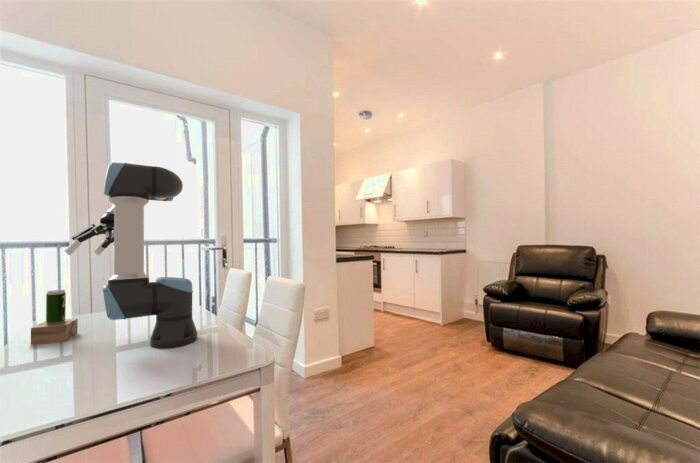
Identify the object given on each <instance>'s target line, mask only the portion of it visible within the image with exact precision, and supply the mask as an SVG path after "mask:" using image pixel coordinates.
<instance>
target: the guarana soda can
mask: <svg viewBox="0 0 700 463" xmlns="http://www.w3.org/2000/svg"><path fill="white" fill-rule="evenodd" d="M66 297H67V296H66V289H55V290H48V291H46V295H45V300H46V301H45V302H46V303H45V321H46V323H47V324H48V325H53V324H60V323H63V322H64V321H65V319H66V304H67V301H66Z"/></svg>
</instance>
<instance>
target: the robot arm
mask: <svg viewBox="0 0 700 463" xmlns="http://www.w3.org/2000/svg"><path fill="white" fill-rule="evenodd" d="M182 190H183V181H182V179H181V178H180V176H179V175H178V174H176V173H175V172H173V171H171V170H170V169H168V168H164V167H162V166H157V165H156V166H151V165H145V164H144V165H143V164H135V163H128V162H111V163H110V164H109V165H108V166H107V170H106V174H105V181H104V188H103V194H104V195H105V196H107V197H108V201H109V202H110V203H111V204H113V205H112V206H111V208H109V209H108V210H107V211H106V213H105V214H103V216H102V217H101V218H100V219H99V223H97V225H96V224H95V223H91V224H90V225H89V226H88V227H86V228H84V229H83V230H82V231H80V232H78V233H76V234H74V236H72V237H71V239H72V240H73V241H72V242H71V243H70V244H69V245H68V246H67V248H66V249H64V252H65V253H66V254H67V255H68V256H72V254H73V253H74V252H75V251H76V250H77V249H78V248H79V247H80V246H81V245H82V243H83V242H85V241H87V240H89V239H90V238H92V237H95V236H100V235H105V239H103V240H102V241H101V242H100V243H99V244H98V245H96V247H95V249H93V252H94V254H96V256H100V255H101V254H102V253H103V252H104V251H105V250H106V249H107V248H108V247H109V246H110V245H111V244H113V245H114V246H113V275H112V276H111V277H110V278H108V279H107V282H108V283H107V284H105V285H103V286H102V291H103V299H104V300H103V301H104V306H105V311H106V312H105V313H106V317H107V318H108V319H109V320H112V321H116V320H123V321H124V320H126V319H135V318H143V317H144V318H145V317H149V316H155V317H156V318H155V324H154V327H153V330H152V333H151V335H150V341H149V342H150V343H149V344H150V346H151V347H152V348H157V349H158V348H159V349H167V348H176V347H182V346H185V345H188V344H189V345H190V344H191V342H192V343H194V342H195V341H197V340H198V330H197V328H196V325H195V322H194V319H193V293H194V290H193V282H192V281H191V279H188V278H184V277H176V276H175V277H174V276H173V277H172V276H171V277H170V276H162V277H161V276H159V277H156V279H155V281H152V282H151V281H150V277H149V275H147V274H146V273H145V246H144V245H145V240H144V239H145V235H144V234H145V232H144V231H145V229H144V228H145V220H144V218H145V214H144V213H145V209H144V208H145V206H146V205H147V204H149V202H150V201H158V202H172V201H173V199H174V198H175V197H177V196H179V195H180V194H181V193H182ZM196 339H197V340H196ZM193 341H194V342H193Z"/></svg>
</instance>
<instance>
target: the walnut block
mask: <svg viewBox="0 0 700 463" xmlns="http://www.w3.org/2000/svg"><path fill="white" fill-rule="evenodd" d="M78 328H79V327H78V318H68V319H66V318H65V321H64V322H63V323H60V324H53V325H48V324H47V323H46V320H44V321H43V322H40V323H38V324H36V325H34V326H32V327H30V346H31V345H33V346H34V345H41V344H42V345H43V344H53V343H63V342H68V341H69V340H70V339H72V338H73V337H75V336H77V335H78Z"/></svg>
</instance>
